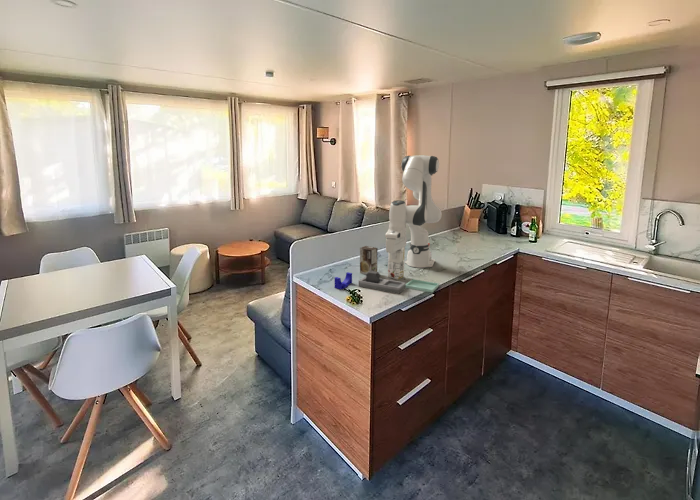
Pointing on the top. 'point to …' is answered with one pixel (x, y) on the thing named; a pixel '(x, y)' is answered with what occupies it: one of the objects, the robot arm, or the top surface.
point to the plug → (397, 257)
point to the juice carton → (396, 268)
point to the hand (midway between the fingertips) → (396, 257)
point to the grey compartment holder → (381, 283)
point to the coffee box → (368, 259)
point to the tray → (422, 285)
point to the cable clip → (345, 283)
